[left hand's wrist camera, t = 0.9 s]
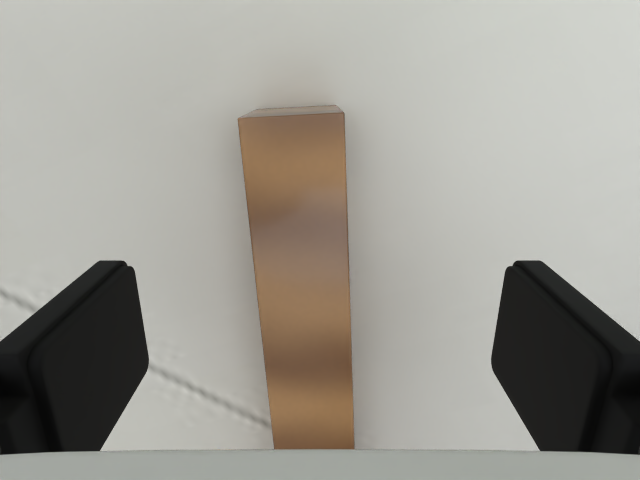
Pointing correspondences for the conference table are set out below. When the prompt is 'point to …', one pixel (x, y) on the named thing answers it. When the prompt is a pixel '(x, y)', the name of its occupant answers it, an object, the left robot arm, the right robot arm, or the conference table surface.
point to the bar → (301, 270)
